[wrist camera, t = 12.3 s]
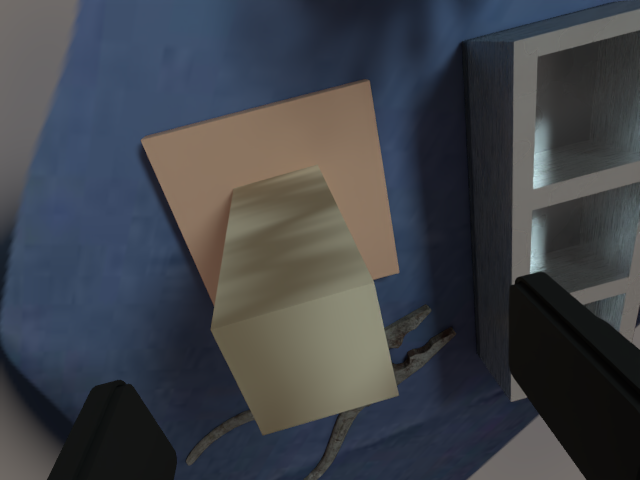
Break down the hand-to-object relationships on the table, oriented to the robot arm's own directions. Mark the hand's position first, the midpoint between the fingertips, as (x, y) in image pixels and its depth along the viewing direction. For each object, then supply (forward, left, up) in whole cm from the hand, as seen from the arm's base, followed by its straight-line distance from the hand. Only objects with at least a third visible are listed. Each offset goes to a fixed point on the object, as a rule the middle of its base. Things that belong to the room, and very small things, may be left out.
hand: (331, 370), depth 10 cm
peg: (0, 0, -11) cm, 11 cm away
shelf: (-12, +4, -11) cm, 17 cm away
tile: (0, 0, -11) cm, 11 cm away
